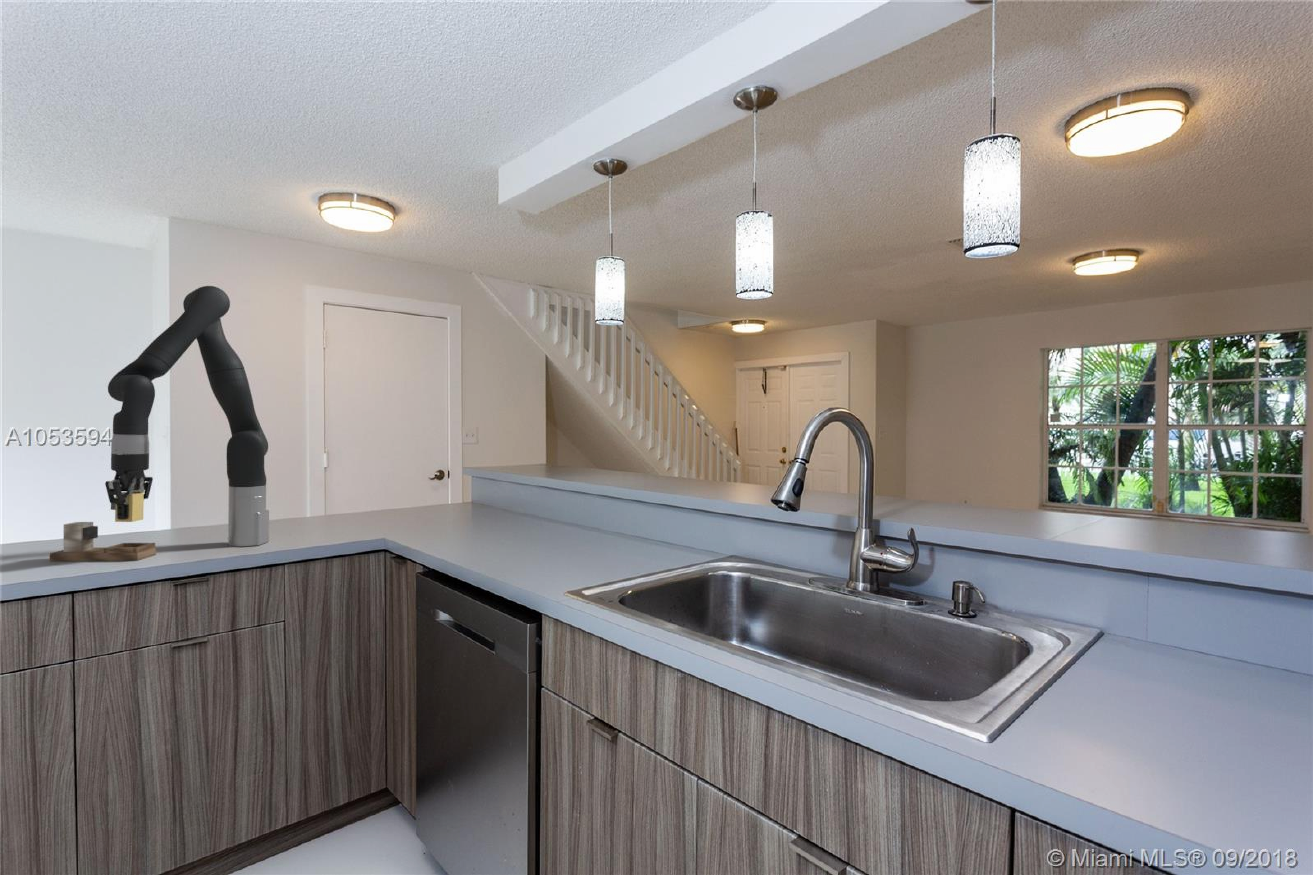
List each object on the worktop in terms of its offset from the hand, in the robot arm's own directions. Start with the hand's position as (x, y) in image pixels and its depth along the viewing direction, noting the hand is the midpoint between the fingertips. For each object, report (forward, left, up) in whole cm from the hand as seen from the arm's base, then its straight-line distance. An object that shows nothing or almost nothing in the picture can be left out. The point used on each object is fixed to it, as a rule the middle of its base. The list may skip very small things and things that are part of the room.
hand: (129, 517), depth 160 cm
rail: (+6, 0, -10) cm, 12 cm away
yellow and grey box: (0, 0, -1) cm, 1 cm away
